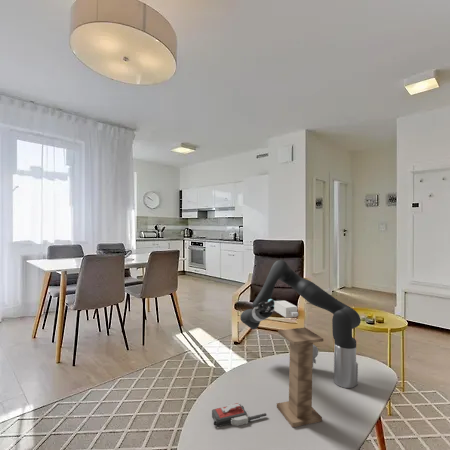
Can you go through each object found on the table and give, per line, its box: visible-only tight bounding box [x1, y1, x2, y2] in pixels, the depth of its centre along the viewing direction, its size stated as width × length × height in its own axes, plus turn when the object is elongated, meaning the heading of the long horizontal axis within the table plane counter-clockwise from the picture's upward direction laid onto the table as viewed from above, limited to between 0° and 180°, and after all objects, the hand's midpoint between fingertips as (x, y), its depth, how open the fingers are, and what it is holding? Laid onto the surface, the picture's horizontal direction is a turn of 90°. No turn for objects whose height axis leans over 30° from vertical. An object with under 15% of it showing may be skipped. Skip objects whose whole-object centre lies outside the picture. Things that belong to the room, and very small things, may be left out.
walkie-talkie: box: [211, 402, 267, 427], centre depth 111 cm, size 9×4×20 cm
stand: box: [276, 327, 324, 428], centre depth 113 cm, size 12×12×30 cm
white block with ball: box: [268, 298, 299, 319], centre depth 127 cm, size 5×23×4 cm, turn 18°
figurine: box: [312, 344, 319, 369], centre depth 149 cm, size 8×8×12 cm
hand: (276, 301), depth 131 cm, fingers closed on white block with ball, 2 cm apart
